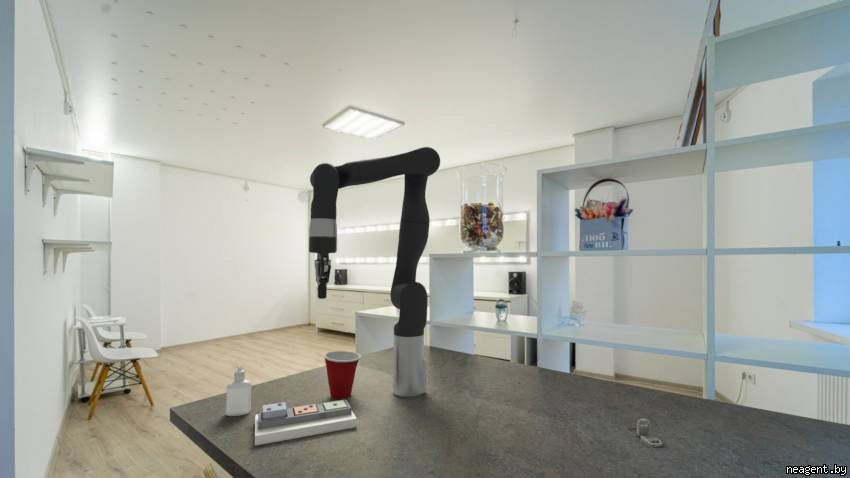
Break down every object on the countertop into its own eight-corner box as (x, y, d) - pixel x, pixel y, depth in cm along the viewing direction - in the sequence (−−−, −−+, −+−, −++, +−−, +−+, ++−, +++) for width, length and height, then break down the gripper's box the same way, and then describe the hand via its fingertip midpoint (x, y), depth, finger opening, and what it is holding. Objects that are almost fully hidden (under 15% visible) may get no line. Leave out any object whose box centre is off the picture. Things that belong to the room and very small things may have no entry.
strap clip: (664, 447, 80) (663, 427, 80) (651, 448, 79) (650, 427, 80) (637, 429, 88) (637, 411, 88) (625, 430, 88) (625, 411, 88)
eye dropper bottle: (241, 418, 93) (243, 369, 94) (222, 415, 94) (224, 367, 95) (253, 411, 97) (254, 364, 98) (234, 409, 99) (236, 363, 99)
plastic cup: (355, 403, 103) (356, 359, 104) (317, 402, 104) (318, 358, 104) (363, 389, 114) (364, 349, 115) (329, 389, 114) (329, 349, 115)
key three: (315, 410, 92) (315, 403, 92) (317, 417, 88) (317, 410, 88) (293, 413, 90) (293, 406, 90) (295, 421, 86) (295, 413, 86)
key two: (285, 408, 90) (285, 401, 90) (286, 415, 86) (286, 408, 86) (262, 411, 88) (262, 404, 88) (262, 419, 84) (262, 411, 84)
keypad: (345, 408, 99) (345, 395, 99) (356, 427, 88) (356, 411, 88) (255, 423, 90) (255, 408, 90) (254, 445, 79) (255, 428, 79)
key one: (343, 406, 95) (343, 399, 95) (346, 412, 91) (347, 405, 91) (323, 409, 93) (323, 402, 93) (326, 416, 89) (326, 408, 89)
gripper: (341, 234, 100) (340, 300, 98) (332, 237, 112) (331, 295, 111) (312, 234, 96) (311, 301, 95) (306, 236, 108) (305, 296, 107)
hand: (321, 298), depth 103 cm, fingers closed
